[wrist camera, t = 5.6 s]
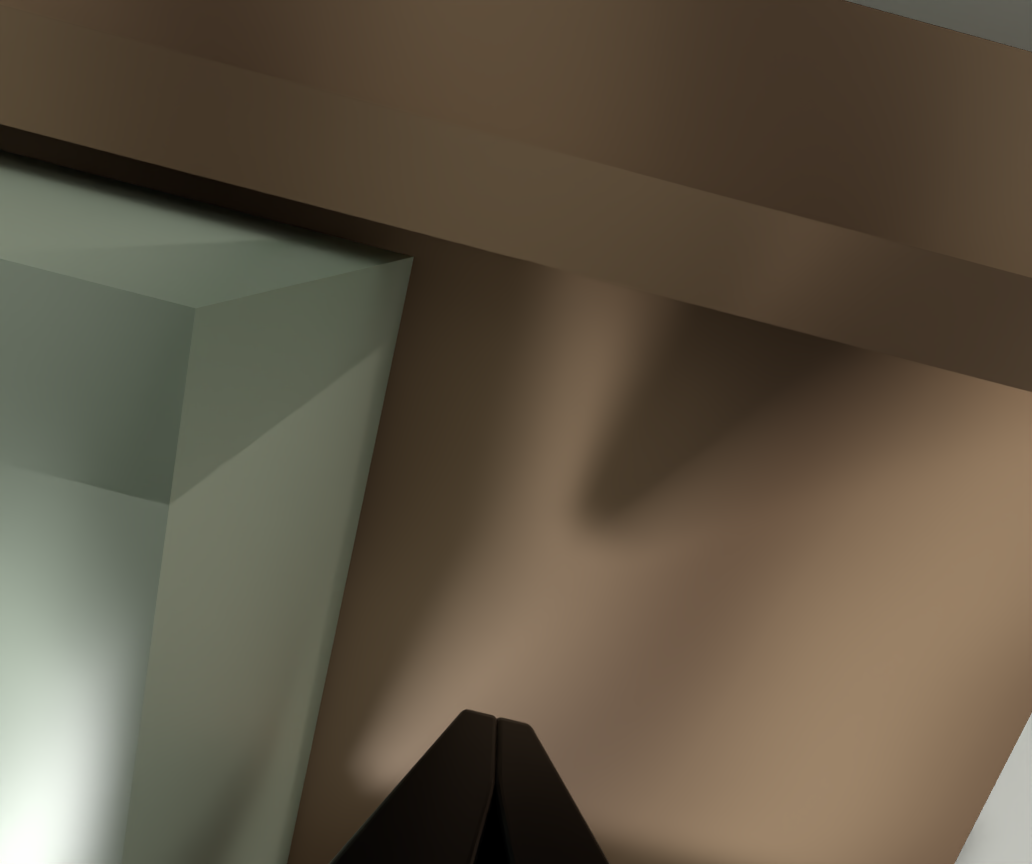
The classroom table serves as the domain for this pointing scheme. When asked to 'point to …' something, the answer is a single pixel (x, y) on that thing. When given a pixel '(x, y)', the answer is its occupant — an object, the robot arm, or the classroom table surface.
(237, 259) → the sage green bevelled box
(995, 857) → the classroom table surface
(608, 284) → the wooden serving tray
